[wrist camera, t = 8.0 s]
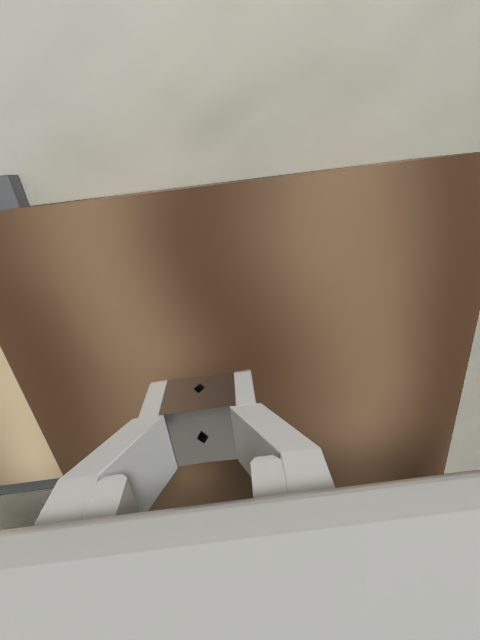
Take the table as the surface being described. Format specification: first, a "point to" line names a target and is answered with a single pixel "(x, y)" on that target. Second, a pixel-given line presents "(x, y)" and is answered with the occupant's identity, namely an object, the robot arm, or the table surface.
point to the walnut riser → (255, 311)
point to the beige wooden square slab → (21, 436)
